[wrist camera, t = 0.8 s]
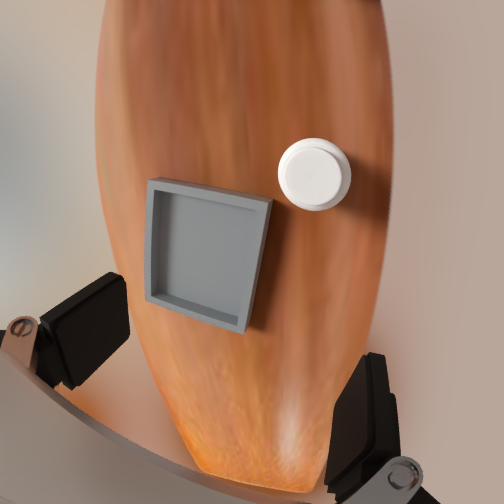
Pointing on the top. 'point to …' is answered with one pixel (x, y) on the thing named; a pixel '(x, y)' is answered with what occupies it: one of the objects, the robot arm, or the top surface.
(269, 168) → the top surface
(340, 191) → the supplement bottle
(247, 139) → the top surface
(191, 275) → the tray
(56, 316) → the robot arm
